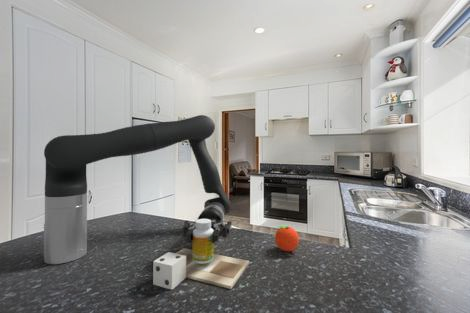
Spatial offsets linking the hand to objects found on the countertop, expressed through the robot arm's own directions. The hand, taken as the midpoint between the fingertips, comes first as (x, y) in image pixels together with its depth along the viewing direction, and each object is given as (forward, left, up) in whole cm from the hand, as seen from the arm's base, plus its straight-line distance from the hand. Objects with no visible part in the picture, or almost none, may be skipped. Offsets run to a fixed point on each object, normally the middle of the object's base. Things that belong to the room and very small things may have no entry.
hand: (201, 239), depth 53 cm
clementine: (+17, +20, -8) cm, 27 cm away
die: (-4, -6, -8) cm, 11 cm away
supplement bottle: (-1, +2, -6) cm, 7 cm away
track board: (-1, +2, -8) cm, 8 cm away
